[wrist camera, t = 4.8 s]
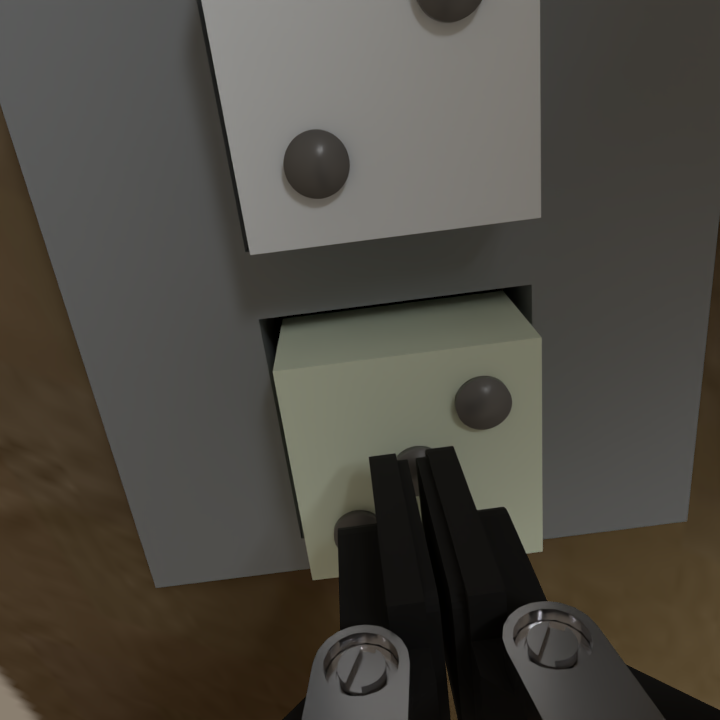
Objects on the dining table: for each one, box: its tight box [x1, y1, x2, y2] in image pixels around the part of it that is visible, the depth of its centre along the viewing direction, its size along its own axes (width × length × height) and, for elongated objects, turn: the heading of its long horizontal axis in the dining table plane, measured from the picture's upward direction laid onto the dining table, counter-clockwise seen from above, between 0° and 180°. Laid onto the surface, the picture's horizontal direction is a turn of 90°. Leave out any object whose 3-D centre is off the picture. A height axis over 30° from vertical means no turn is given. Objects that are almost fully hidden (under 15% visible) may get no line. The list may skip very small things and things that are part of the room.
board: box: [0, 0, 720, 588], centre depth 13 cm, size 14×23×2 cm, turn 7°
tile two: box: [201, 0, 541, 255], centre depth 12 cm, size 5×5×3 cm
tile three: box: [273, 291, 543, 580], centre depth 15 cm, size 5×5×3 cm
